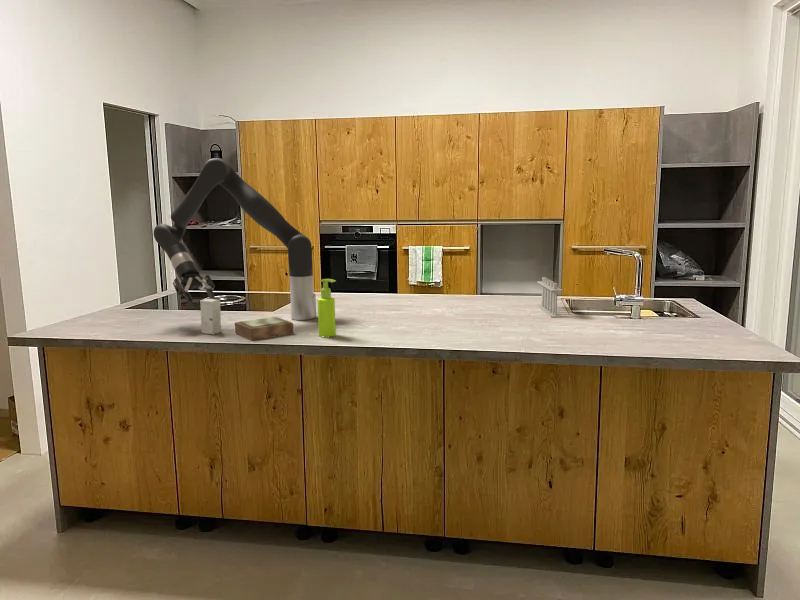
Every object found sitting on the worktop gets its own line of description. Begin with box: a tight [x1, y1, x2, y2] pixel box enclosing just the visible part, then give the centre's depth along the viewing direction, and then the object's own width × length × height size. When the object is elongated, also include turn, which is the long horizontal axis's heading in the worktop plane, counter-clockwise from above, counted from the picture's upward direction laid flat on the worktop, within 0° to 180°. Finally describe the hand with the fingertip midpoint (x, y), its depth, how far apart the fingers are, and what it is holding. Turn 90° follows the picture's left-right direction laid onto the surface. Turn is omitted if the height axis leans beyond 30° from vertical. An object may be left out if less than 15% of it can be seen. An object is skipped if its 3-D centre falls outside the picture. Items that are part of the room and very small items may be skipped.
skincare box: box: [199, 298, 222, 335], centre depth 222 cm, size 6×4×12 cm
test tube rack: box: [536, 276, 564, 319], centre depth 252 cm, size 25×4×13 cm, turn 0°
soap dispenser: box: [317, 278, 337, 338], centre depth 214 cm, size 6×7×20 cm
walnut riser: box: [234, 316, 294, 341], centre depth 220 cm, size 16×14×4 cm
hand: (202, 300), depth 225 cm, fingers open, 8 cm apart
